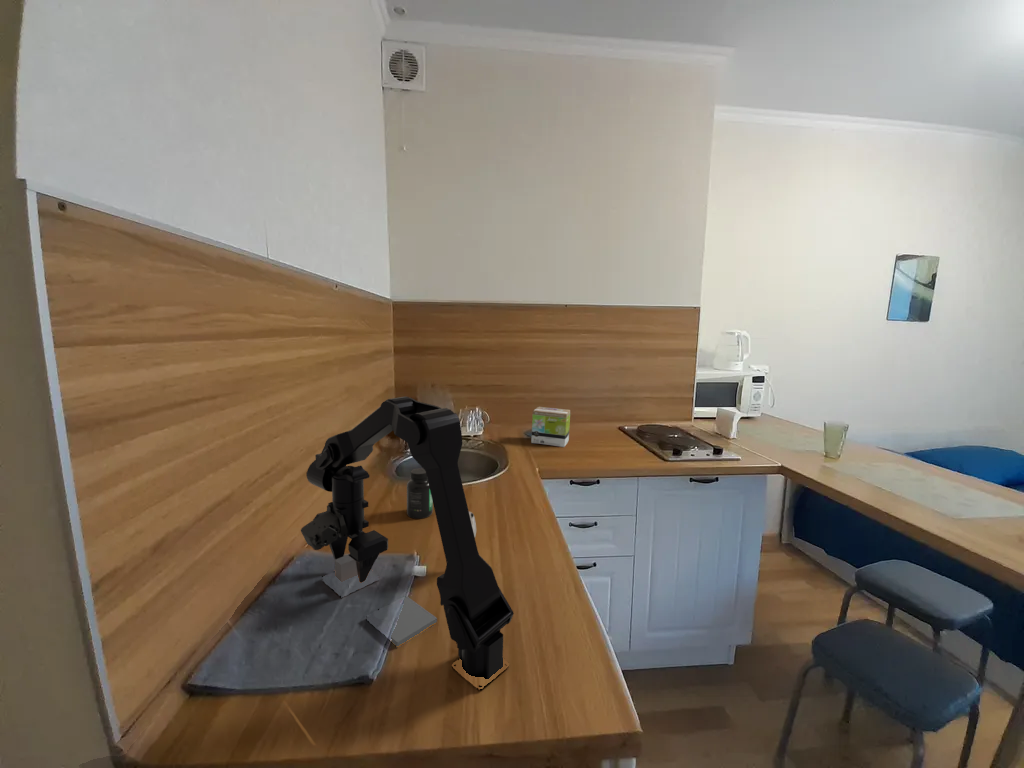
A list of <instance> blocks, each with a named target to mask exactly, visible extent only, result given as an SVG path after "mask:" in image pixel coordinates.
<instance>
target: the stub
mask: <svg viewBox="0 0 1024 768" xmlns="http://www.w3.org/2000/svg"><path fill="white" fill-rule="evenodd" d="M349 554H350V553H349ZM349 554H345V555H344V556H343V557H341V558H338V559H336V560H334V571H335V576H336V577H337V578H338V579H339V580H340V581H341V582H343V581H345V580H347V579H349V578H352V577H354V576H357V575H358V573H357V566H356V561H355V560H354V559H352V558H351V557H350V556H348V555H349Z"/></svg>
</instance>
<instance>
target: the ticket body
mask: <svg viewBox="0 0 1024 768" xmlns="http://www.w3.org/2000/svg"><path fill="white" fill-rule="evenodd" d="M436 622H437V623H438V618H437V617H436V616H435V615H434V614H432V613H431V612H429V611H428V610H426V609H425V608H424V607H423V606H421V605H420V604H418V603H417V602H416V601H415V600H413V599H412V598H410V597H409V596H408V595H406V598H405V600H404V605H403V608H402V611H401V613H400V615H399V619H398V621H397V625H396V627H395V629H394V631H393V633H392V635H391V639H392V642H393V643H394V644H395V645H396V646H399V645H400V644H402V643H404V642H406V641H407V640H409V639H410V638H412V637H414V636H415V635H417V634H419V633H420V632H421V631H423V630H424V629H426V628H427V627H429V626H430V625H432V624H434V623H436Z"/></svg>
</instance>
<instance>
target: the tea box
mask: <svg viewBox="0 0 1024 768" xmlns="http://www.w3.org/2000/svg"><path fill="white" fill-rule="evenodd" d="M531 417H532V418H531V419H532V420H531V421H532V422H531V434H530V435H531V437H530V438H531V442H530V443H531V444H540V445H548V446H554V447H560V448H565V447H566V445H567V444H568V443H569V439H570V424H571V422H570V421H571V409H564V408H556V407H544V406H537V407H536V408H534V410H532V416H531Z"/></svg>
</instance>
